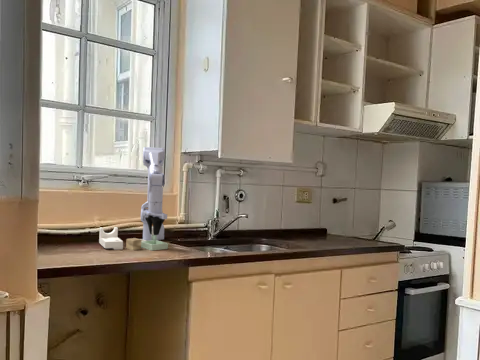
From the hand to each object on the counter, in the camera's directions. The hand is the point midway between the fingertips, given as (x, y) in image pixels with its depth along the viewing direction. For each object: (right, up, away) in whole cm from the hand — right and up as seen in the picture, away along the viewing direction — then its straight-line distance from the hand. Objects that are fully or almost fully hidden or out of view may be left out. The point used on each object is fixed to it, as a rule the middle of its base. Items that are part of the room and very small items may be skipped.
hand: (154, 234), depth 194 cm
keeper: (-7, -5, +5) cm, 10 cm away
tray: (0, -6, 0) cm, 6 cm away
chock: (-8, -6, -3) cm, 10 cm away
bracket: (-18, -6, -1) cm, 19 cm away
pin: (0, -2, 0) cm, 2 cm away
